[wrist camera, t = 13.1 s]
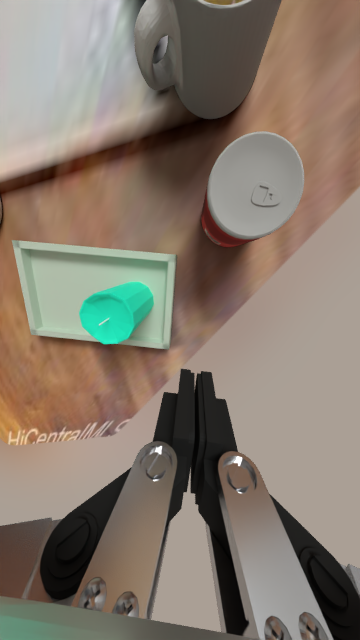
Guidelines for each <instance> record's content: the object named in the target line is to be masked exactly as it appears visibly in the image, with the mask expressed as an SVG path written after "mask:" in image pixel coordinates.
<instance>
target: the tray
mask: <svg viewBox="0 0 360 640" xmlns="http://www.w3.org/2000/svg"><path fill="white" fill-rule="evenodd" d="M12 242H13V247H14V252H15V257H16V262H17V267H18V272H19V277H20V282H21V286H22V291H23V296H24V301H25V306H26V311H27V316H28V321H29V326H30V331H31V335H40V336H50V337H59V338H68V339H77V340H86V341H95V342H100V341H98V340H97V339H95V338H94V337H93V336H91V335H90V334H89V333H88V332H87V331H86V330H85V329H84V328H83V327H82V324H81V320H80V316H79V311H80V309H81V306H82V304H83V301H84V300H85V299H87V298H88V297H90V296H91V295H93V294H94V293H97V292H100V291H103V290H106V289H109V288H112V287H115V286H118V285H121V284H124V283H128V282H141V283H142V284H144V285H146V286H148V288H149V289H150V291H151V292H152V294H153V298H154V305H153V307H152V309H151V311H150V313H149V314H148V315H147V316H146V317H145V319H144V320H143V321H142V322H141V324H140V325H139V326H138V327H137V328H136V330H135V331H134V332H133V333H132V334H131V336H130V337H129V338H128V339H126V340H124V341H122V342H120V343H118V344H123V345H132V346H141V347H151V348H160V349H169V347H170V343H171V331H172V318H173V305H174V292H175V278H176V265H177V255H173V254H162V253H151V252H139V251H128V250H117V249H106V248H95V247H84V246H73V245H62V244H50V243H39V242H28V241H17V240H12Z"/></svg>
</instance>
